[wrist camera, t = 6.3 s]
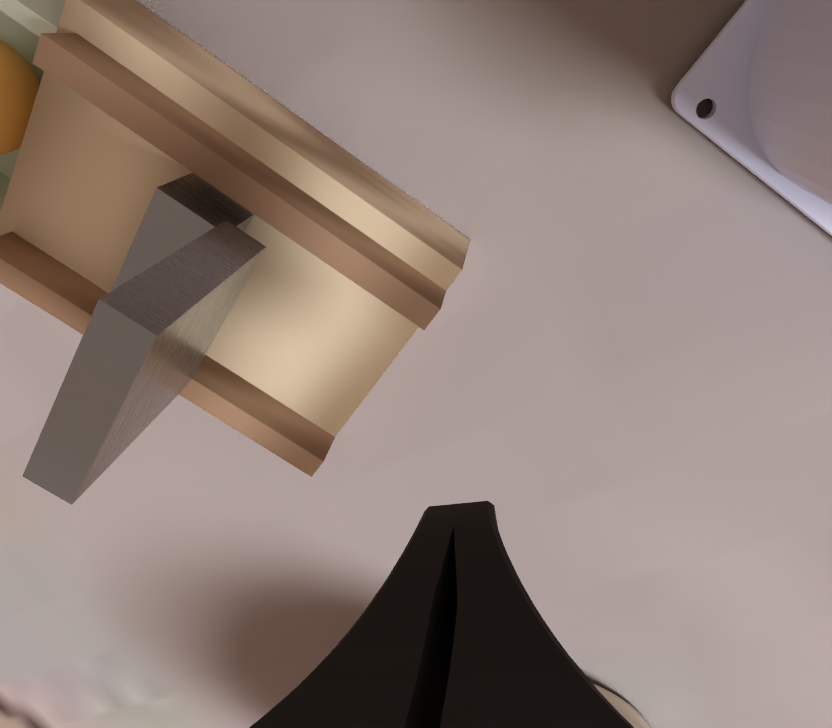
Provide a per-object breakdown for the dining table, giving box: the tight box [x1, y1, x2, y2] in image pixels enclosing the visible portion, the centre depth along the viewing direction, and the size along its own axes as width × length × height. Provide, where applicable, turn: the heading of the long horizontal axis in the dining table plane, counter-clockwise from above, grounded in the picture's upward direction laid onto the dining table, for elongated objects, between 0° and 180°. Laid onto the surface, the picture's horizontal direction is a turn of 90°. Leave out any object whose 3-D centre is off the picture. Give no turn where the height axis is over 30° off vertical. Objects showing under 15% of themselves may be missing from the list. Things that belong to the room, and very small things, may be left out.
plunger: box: [23, 173, 266, 505], centre depth 16 cm, size 3×5×7 cm, turn 146°
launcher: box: [0, 0, 470, 477], centre depth 20 cm, size 12×9×4 cm
